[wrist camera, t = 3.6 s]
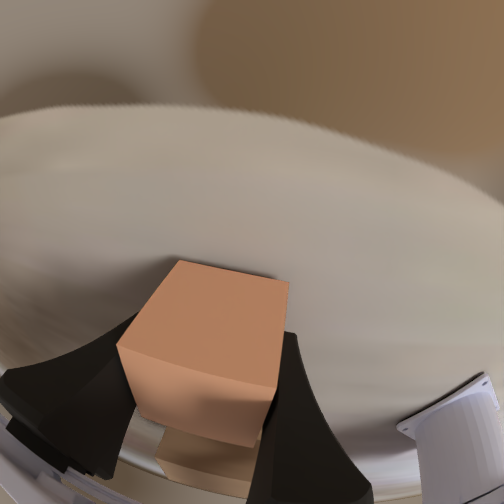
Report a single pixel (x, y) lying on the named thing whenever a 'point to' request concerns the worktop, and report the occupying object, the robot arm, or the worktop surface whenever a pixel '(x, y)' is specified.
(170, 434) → the tower top
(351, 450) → the worktop surface
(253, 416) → the terracotta block
